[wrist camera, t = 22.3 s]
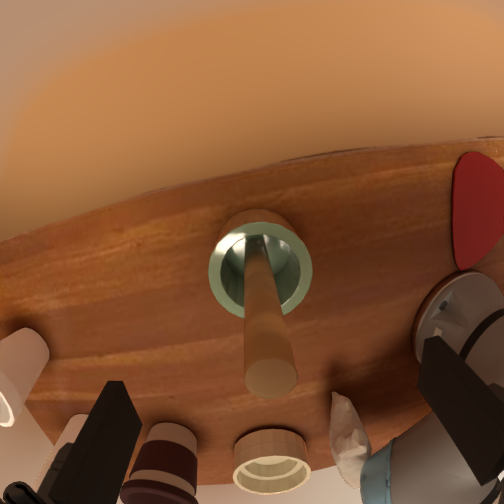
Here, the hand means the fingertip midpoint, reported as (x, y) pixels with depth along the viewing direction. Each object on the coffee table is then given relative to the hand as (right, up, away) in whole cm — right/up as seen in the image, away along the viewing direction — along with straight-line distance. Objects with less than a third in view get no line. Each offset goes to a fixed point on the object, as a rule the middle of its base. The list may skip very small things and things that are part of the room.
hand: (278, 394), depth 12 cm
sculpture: (+11, -17, +27) cm, 34 cm away
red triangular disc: (+28, +11, +21) cm, 36 cm away
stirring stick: (-1, +6, +20) cm, 21 cm away
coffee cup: (-13, -22, +29) cm, 38 cm away
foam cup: (-33, -8, +25) cm, 42 cm away
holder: (-1, +6, +21) cm, 22 cm away
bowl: (+2, -24, +29) cm, 38 cm away
